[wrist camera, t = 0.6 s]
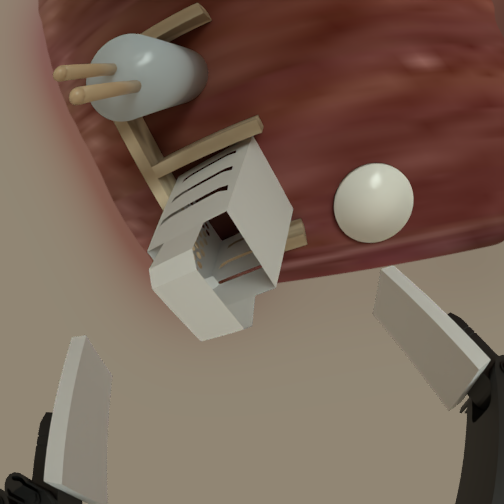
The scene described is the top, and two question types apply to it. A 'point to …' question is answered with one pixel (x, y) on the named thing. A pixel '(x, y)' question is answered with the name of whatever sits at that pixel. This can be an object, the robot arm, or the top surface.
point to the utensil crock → (136, 77)
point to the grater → (221, 242)
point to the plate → (373, 202)
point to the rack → (161, 168)
